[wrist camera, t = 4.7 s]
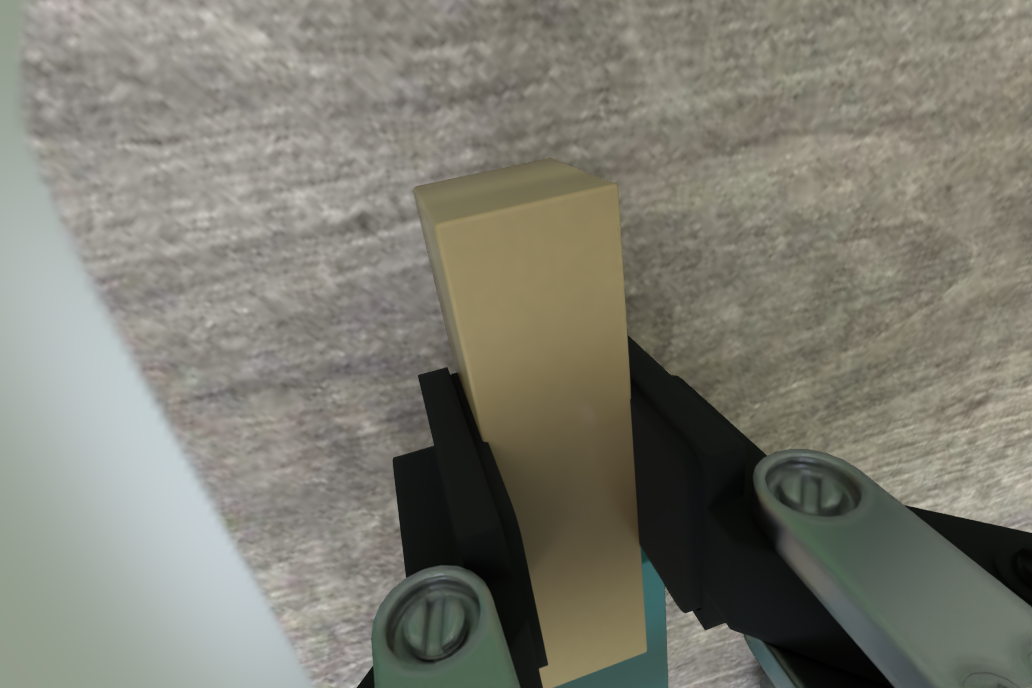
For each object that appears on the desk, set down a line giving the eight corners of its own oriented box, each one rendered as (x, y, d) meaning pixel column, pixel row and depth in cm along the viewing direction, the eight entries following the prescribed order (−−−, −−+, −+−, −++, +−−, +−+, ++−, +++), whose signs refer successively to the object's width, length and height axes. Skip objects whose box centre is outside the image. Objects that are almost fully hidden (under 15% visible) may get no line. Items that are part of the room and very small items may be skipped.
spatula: (314, 207, 8) (301, 254, 6) (636, 138, 9) (728, 158, 7) (493, 751, 15) (517, 860, 13) (660, 684, 16) (708, 777, 14)
